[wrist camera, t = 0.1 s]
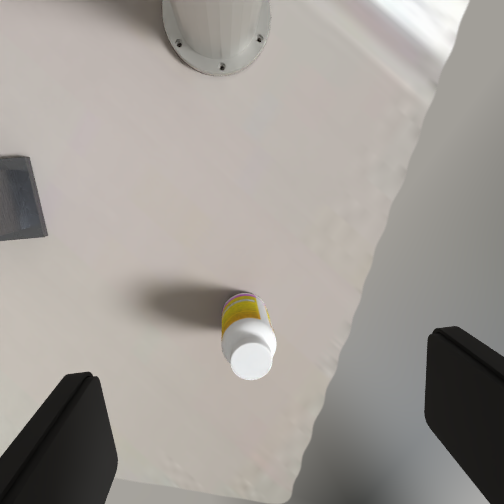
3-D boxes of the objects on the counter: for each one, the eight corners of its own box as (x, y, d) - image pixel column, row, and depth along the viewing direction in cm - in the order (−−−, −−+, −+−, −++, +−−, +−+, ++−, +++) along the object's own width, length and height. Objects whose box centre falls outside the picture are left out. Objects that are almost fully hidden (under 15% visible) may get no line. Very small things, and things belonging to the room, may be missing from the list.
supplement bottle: (212, 313, 48) (207, 362, 35) (244, 282, 47) (251, 321, 35) (244, 341, 49) (251, 398, 37) (276, 311, 49) (293, 360, 36)
